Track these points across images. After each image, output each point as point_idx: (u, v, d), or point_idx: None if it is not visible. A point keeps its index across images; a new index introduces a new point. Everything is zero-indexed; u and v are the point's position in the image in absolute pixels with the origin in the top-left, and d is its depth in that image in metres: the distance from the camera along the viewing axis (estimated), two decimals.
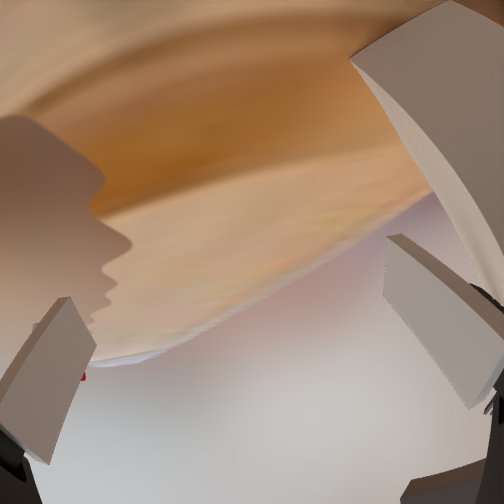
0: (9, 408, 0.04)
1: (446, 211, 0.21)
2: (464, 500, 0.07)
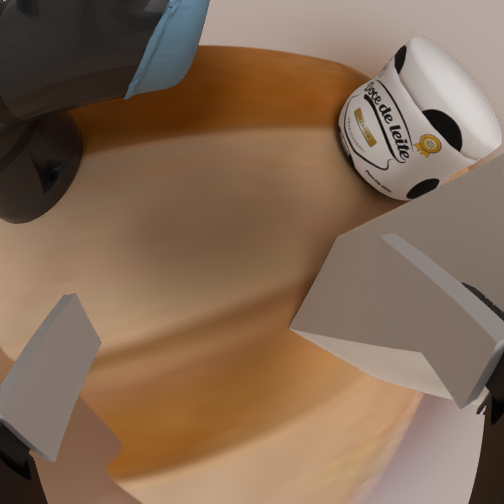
0: (15, 405, 0.05)
1: (420, 390, 0.21)
2: None
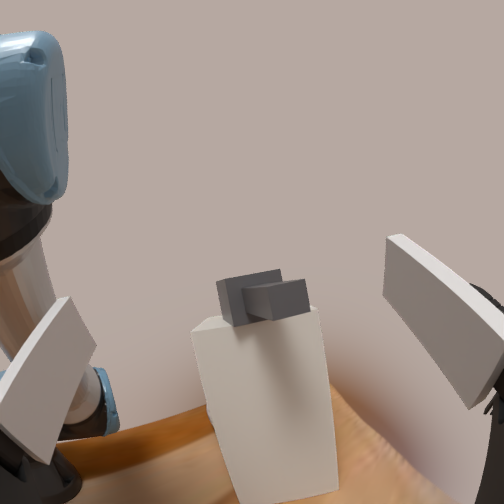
0: (9, 408, 0.04)
1: (333, 452, 0.27)
2: (253, 298, 0.24)
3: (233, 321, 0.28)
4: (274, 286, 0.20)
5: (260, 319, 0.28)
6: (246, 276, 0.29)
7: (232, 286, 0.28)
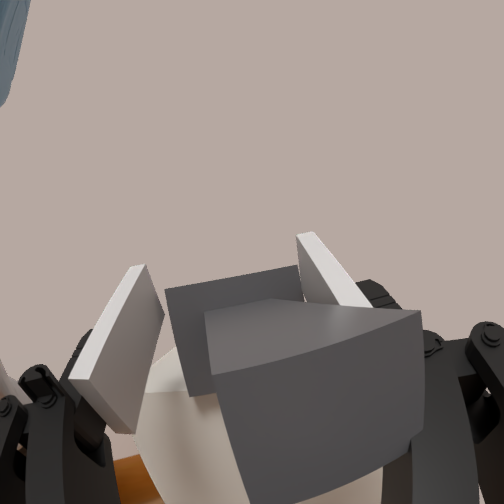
0: (103, 370, 0.06)
1: None
2: None
3: (188, 385, 0.11)
4: (262, 371, 0.03)
5: None
6: (216, 283, 0.12)
7: (182, 307, 0.11)
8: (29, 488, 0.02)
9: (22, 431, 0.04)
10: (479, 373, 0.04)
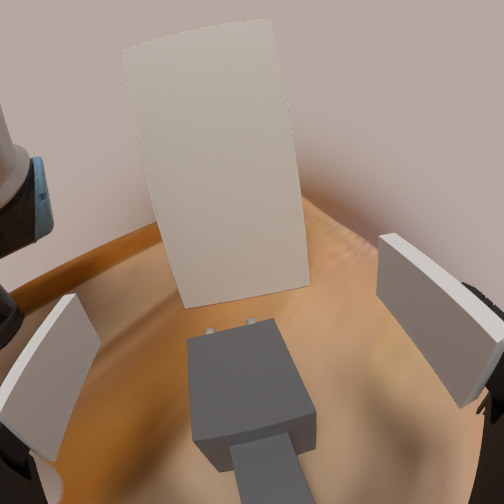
0: (15, 405, 0.05)
1: (299, 212, 0.27)
2: None
3: (218, 469, 0.12)
4: None
5: None
6: (239, 434, 0.11)
7: (210, 446, 0.11)
8: None
9: None
10: None
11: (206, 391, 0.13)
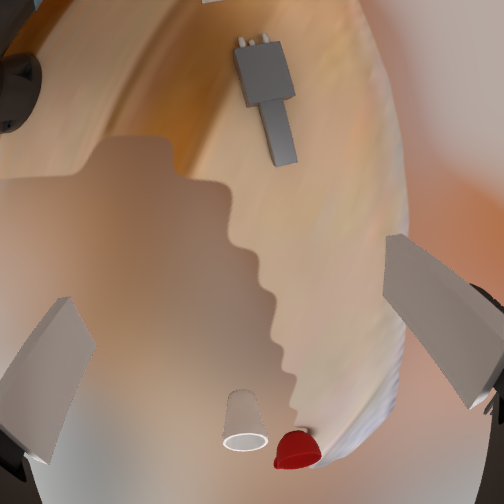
0: (9, 408, 0.04)
1: None
2: (267, 134, 0.35)
3: (247, 107, 0.35)
4: None
5: None
6: (267, 100, 0.31)
7: (254, 103, 0.32)
8: None
9: None
10: None
11: (251, 80, 0.30)
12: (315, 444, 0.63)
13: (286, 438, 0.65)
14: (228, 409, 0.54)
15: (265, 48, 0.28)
